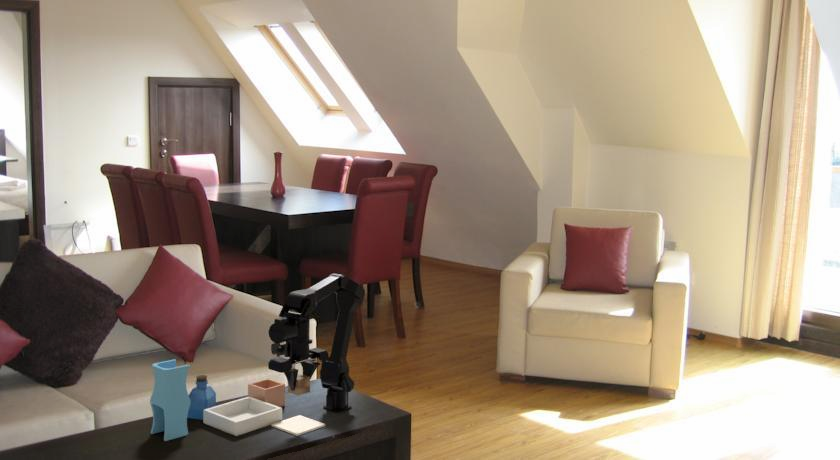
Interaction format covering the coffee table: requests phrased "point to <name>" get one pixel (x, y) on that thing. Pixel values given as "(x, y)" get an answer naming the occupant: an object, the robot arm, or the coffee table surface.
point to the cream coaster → (298, 425)
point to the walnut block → (301, 385)
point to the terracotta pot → (268, 392)
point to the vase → (170, 400)
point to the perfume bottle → (201, 398)
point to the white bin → (242, 415)
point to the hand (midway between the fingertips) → (298, 388)
